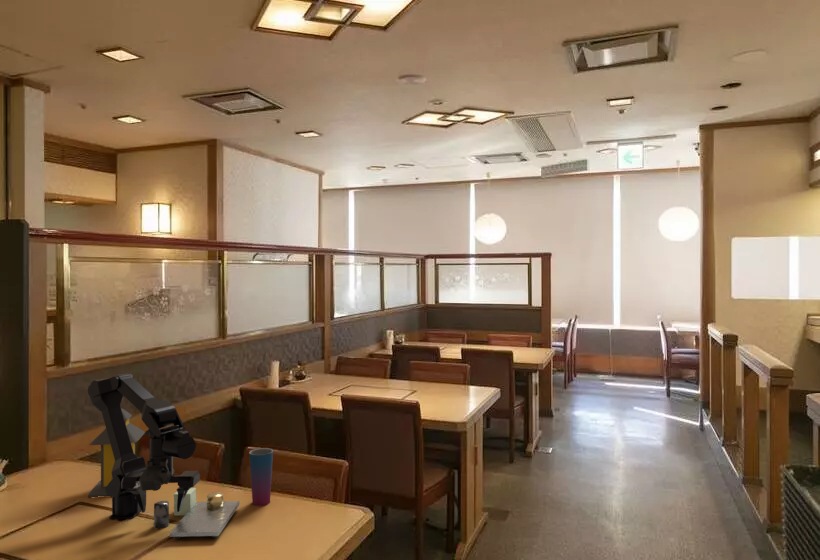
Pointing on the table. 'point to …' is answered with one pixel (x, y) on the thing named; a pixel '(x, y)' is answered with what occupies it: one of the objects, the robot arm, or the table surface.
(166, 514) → the black peg
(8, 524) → the table surface
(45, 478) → the table surface
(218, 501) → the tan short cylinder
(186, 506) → the green block
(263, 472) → the cup
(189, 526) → the grey flat plate
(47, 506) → the table surface
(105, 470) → the lantern
